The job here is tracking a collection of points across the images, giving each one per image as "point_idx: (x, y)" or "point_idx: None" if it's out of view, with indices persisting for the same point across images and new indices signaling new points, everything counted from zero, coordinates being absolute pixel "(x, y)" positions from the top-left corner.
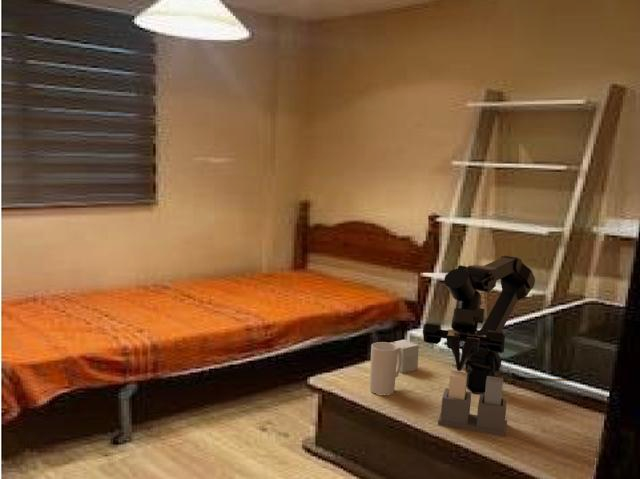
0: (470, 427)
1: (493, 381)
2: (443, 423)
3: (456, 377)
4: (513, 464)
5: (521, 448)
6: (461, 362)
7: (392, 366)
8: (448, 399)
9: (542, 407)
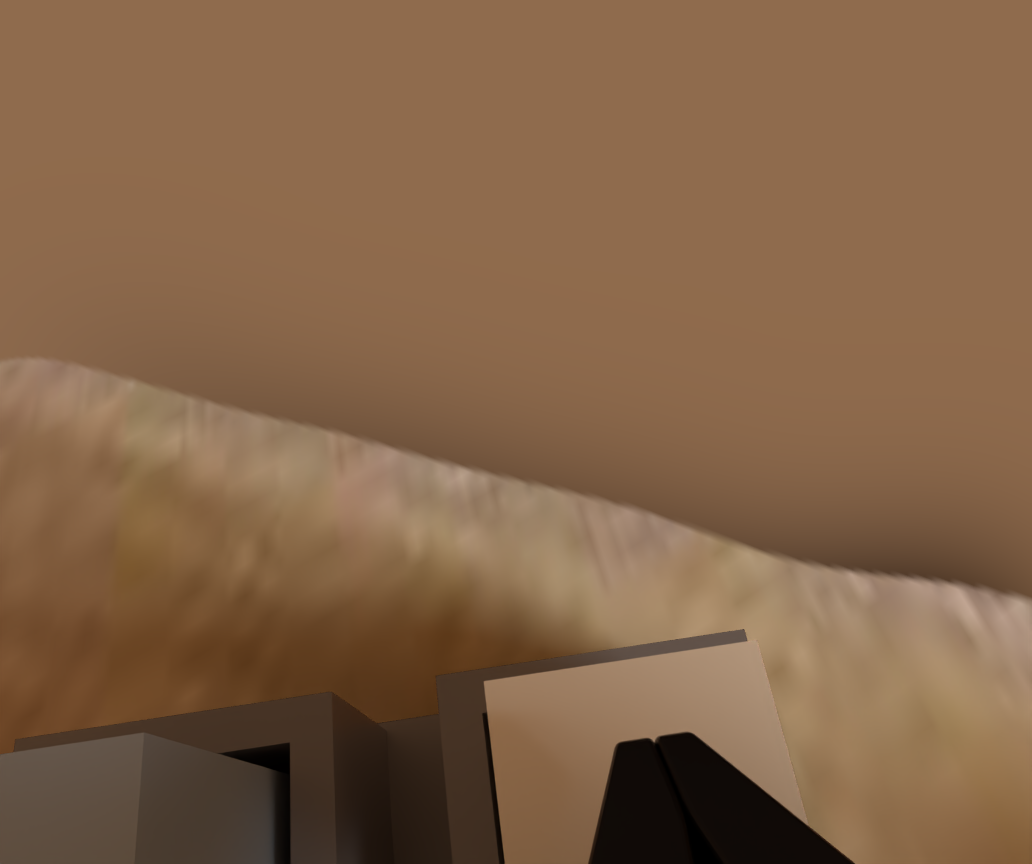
0: (436, 716)
1: (12, 801)
2: None
3: (643, 657)
4: (118, 384)
5: (41, 621)
6: (646, 828)
7: None
8: (671, 642)
9: None
